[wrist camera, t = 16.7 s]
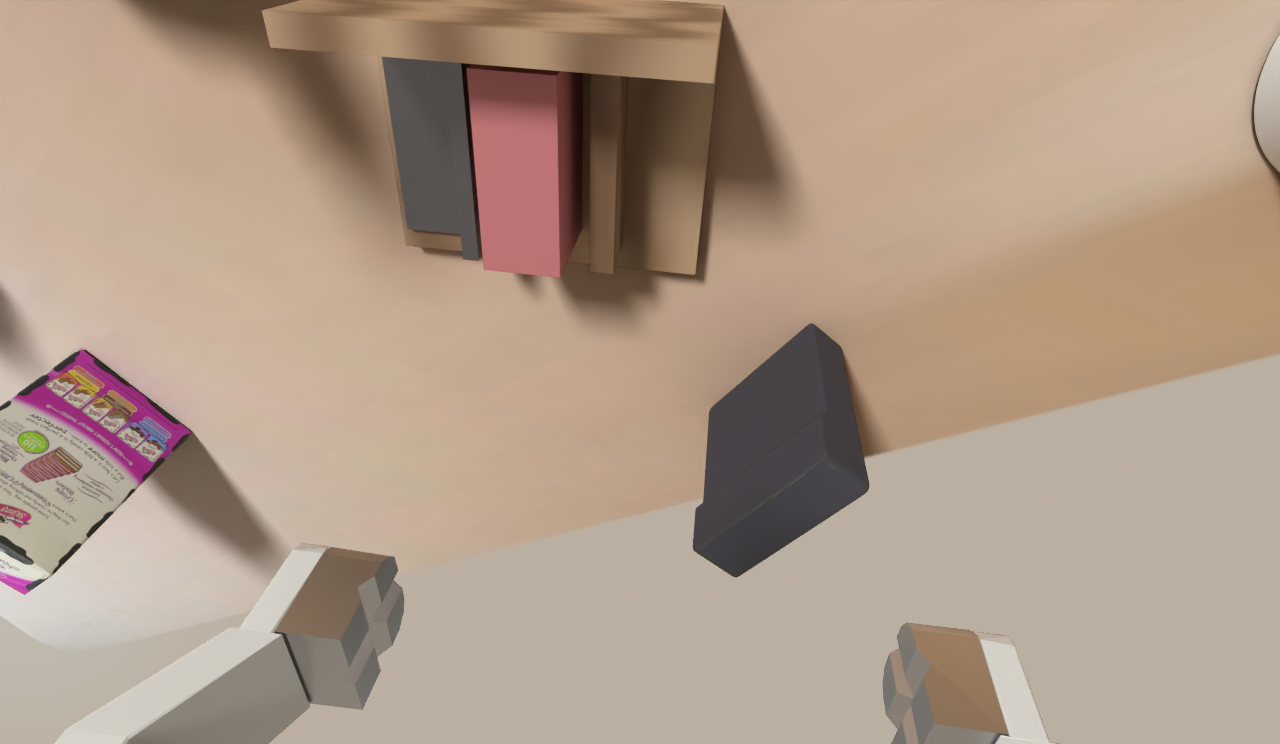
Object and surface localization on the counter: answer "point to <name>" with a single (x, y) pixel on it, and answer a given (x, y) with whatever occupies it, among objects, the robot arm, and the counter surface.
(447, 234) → the wooden shelf rack
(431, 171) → the bookend
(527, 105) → the boxed book
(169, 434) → the candy bar box
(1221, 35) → the counter surface
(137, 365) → the counter surface
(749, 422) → the stepped charcoal slab
